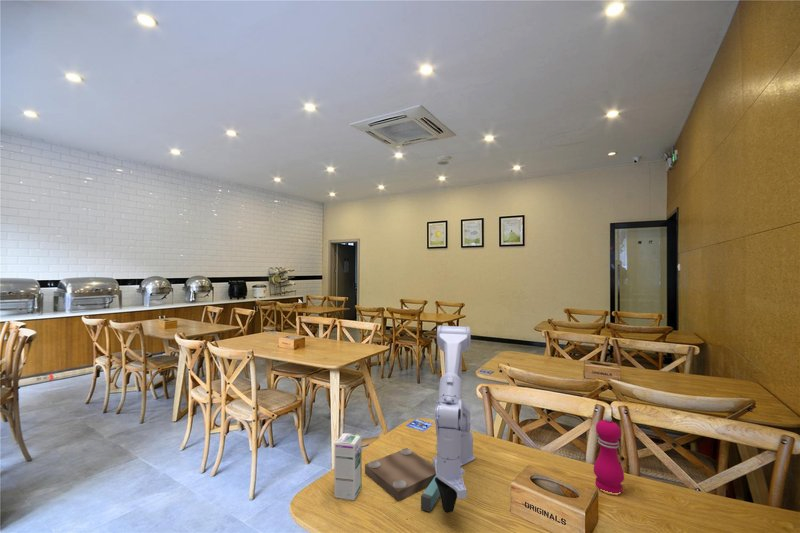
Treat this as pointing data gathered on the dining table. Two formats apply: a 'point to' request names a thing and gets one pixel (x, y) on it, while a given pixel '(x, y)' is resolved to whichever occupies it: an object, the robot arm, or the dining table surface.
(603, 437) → the pepper mill
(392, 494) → the stool seat
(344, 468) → the syrup box
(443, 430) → the robot arm
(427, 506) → the stool leg
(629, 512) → the dining table surface
